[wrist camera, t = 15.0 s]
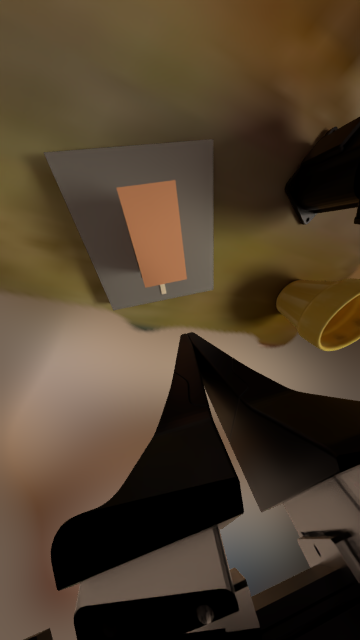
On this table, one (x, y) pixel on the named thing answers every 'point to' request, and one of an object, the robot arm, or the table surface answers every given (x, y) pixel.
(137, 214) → the keyed peg
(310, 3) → the table surface
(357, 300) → the plant pot
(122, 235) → the socket block
